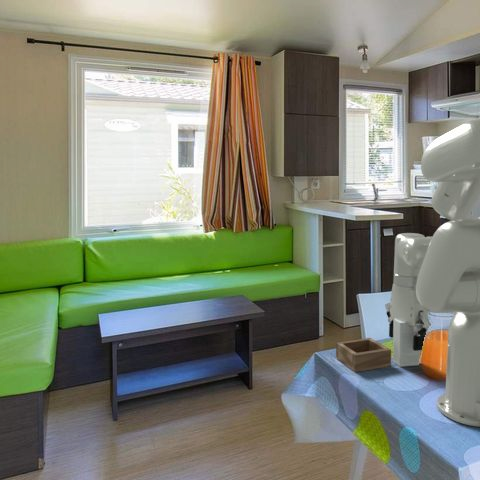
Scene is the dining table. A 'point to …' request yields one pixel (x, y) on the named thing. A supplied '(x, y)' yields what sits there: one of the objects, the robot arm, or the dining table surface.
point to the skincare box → (404, 344)
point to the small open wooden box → (363, 354)
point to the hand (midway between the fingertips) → (406, 343)
